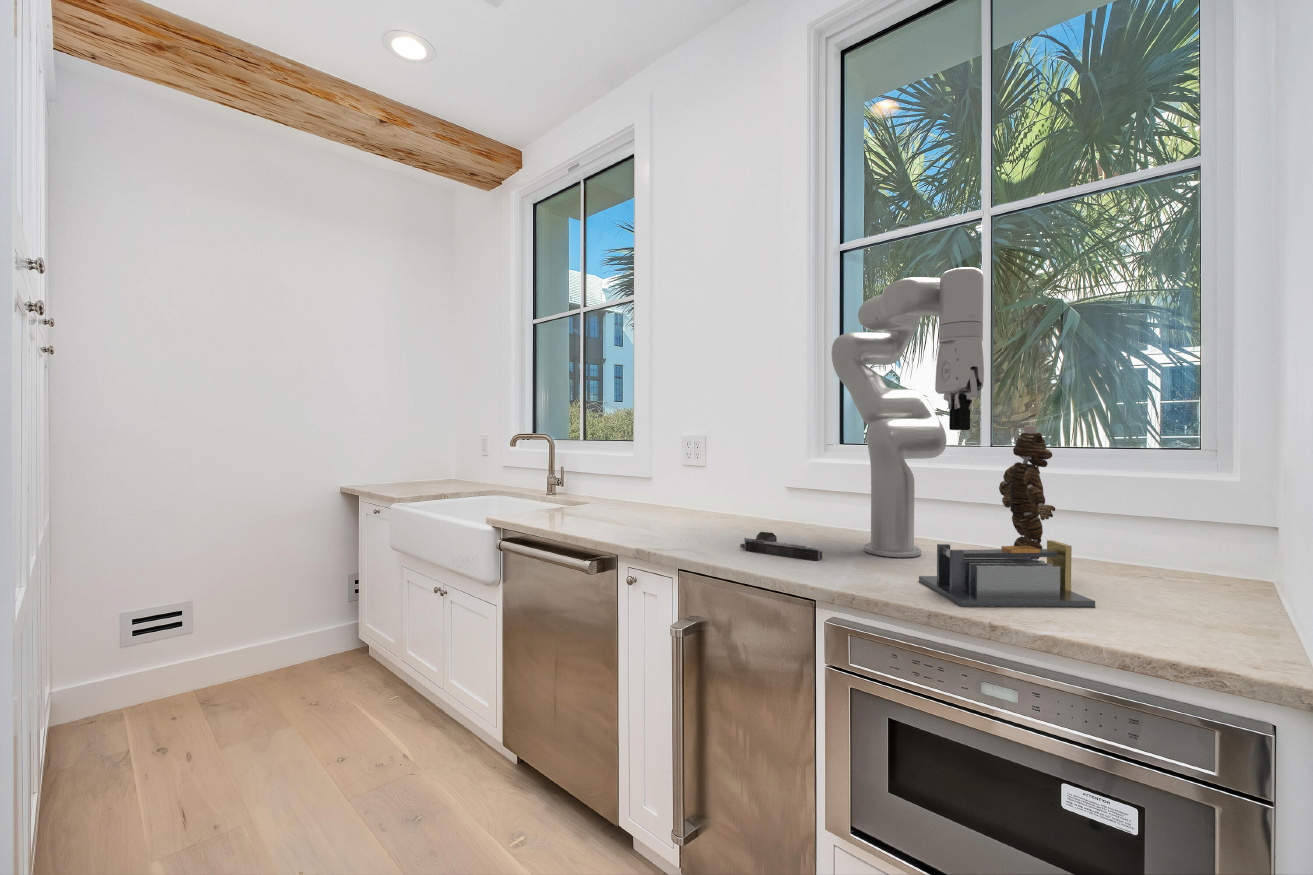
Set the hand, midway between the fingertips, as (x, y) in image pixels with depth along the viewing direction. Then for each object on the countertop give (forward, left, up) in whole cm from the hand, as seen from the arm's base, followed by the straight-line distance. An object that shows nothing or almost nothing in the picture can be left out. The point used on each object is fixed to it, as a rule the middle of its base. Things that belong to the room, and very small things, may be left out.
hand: (959, 429), depth 114 cm
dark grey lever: (+9, +3, -23) cm, 25 cm away
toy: (-7, +18, -29) cm, 35 cm away
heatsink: (+9, +3, -29) cm, 31 cm away
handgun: (-27, -28, -30) cm, 49 cm away
